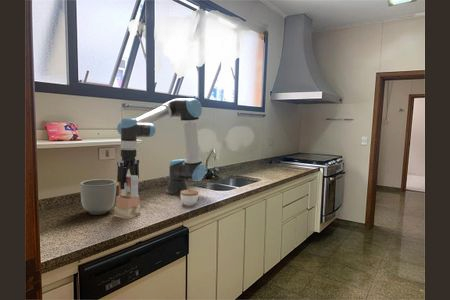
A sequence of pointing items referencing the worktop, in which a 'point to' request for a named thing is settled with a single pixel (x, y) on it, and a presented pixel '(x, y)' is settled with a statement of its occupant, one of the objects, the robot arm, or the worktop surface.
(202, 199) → the worktop surface
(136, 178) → the small box
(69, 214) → the worktop surface
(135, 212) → the clear square container
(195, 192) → the lidded jar
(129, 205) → the terracotta block
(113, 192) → the planter
